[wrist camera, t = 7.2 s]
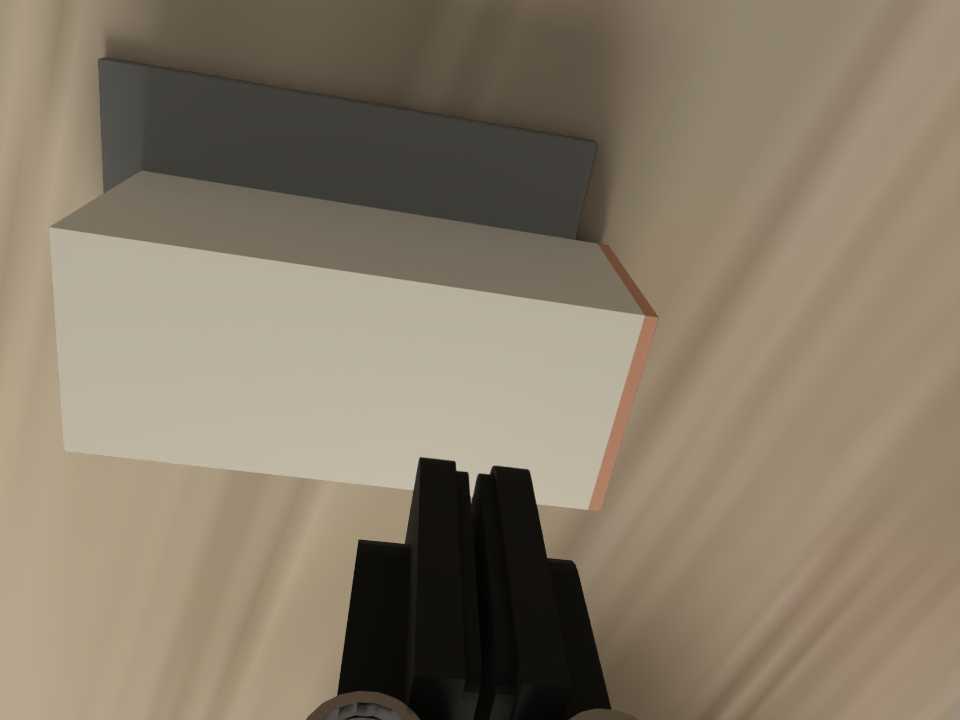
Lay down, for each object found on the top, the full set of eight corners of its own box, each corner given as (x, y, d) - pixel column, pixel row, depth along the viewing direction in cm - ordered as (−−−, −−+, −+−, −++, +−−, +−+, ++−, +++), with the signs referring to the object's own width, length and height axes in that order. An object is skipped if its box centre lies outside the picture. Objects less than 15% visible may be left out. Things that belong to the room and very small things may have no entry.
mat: (104, 57, 18) (98, 59, 17) (594, 141, 19) (597, 143, 19) (119, 419, 22) (113, 427, 22) (519, 464, 24) (520, 472, 23)
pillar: (608, 245, 20) (141, 170, 19) (658, 317, 16) (49, 227, 14) (566, 406, 22) (143, 351, 21) (600, 511, 18) (64, 450, 16)
